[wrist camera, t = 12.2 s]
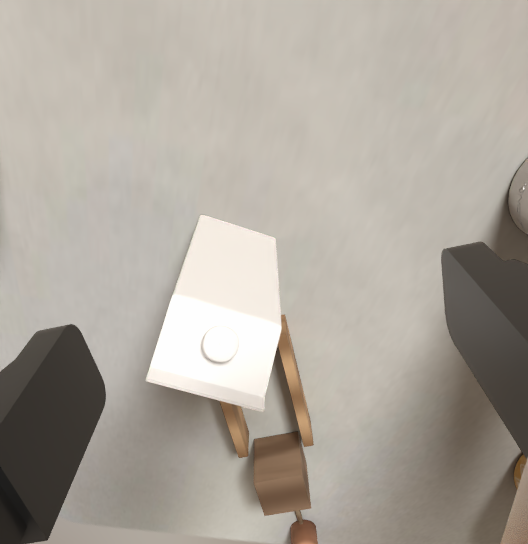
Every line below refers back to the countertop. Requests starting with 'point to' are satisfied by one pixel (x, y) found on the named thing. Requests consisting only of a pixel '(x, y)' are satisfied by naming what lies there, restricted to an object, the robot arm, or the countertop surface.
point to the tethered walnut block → (284, 482)
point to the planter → (519, 470)
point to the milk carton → (222, 317)
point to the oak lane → (293, 378)
